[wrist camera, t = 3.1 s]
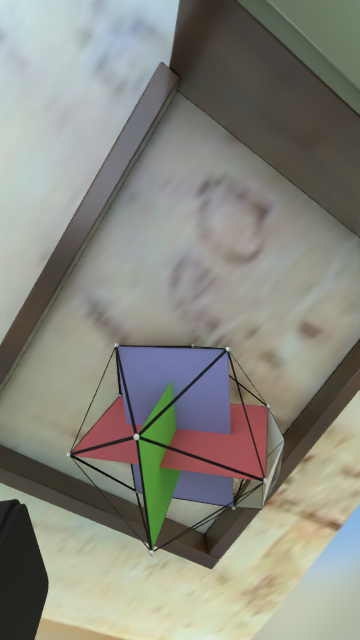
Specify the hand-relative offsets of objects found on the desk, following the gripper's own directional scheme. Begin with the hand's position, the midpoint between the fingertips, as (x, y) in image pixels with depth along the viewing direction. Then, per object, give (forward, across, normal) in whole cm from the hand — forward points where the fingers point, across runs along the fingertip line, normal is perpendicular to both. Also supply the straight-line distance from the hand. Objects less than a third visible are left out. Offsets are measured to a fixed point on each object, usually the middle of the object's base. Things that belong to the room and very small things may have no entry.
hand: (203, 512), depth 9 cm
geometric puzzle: (+7, 0, 0) cm, 7 cm away
